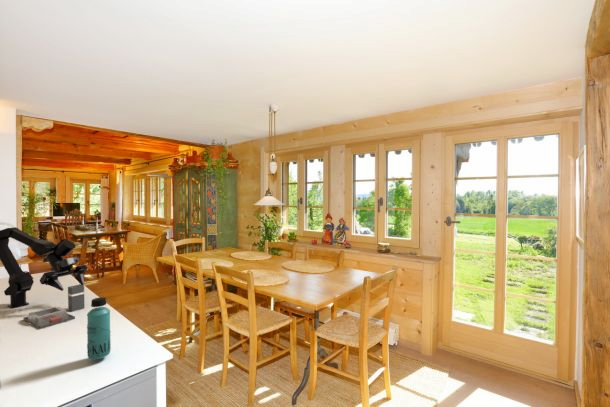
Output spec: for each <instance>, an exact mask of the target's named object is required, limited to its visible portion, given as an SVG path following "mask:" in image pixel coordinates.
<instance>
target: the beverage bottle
mask: <svg viewBox="0 0 610 407" xmlns="http://www.w3.org/2000/svg"><path fill="white" fill-rule="evenodd" d="M106 305H107V299H106V297H104V296H100V297H96V298H92V299H91V304H90V306H91V307H92V309H91V310H89V312H87V314H86V316H87V325H86V333H87V337H86V338H87V343H86V344H87V345H86V349H87V350H86V351H87V352H86V353H87V358H88V360H100V359H102V358H103V359H104V358H105V357H106V356H108V355H109V354H110V353H111V349H112V347H111V336H112V335H111V309H109V308H108V307H106Z"/></svg>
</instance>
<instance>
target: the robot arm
mask: <svg viewBox="0 0 610 407" xmlns="http://www.w3.org/2000/svg"><path fill="white" fill-rule="evenodd" d="M10 238H11V239H14V240H15V241H17V242H19V243H20V244H21V243H22V244H23V245H25V246H28V247H29V248H30V250H31V252H33V253H35V254H36V255H37V256H44V255H46V256H44V258H43V260H42V263H48V264H49V265H50V267H51V268H50V271H46V272H44V273H43V274H42V275H41V277H40V279H39V283H40V284H41V286H42V285H45V286H50V287H53V288H56V289H57V290H59V291H61V292H62V291H64V286H63V284H61V281H59V279H58V278H60V277H66V276H70V275H71V276H72V275H73V276H74V279H75V280H76V281H77V282H78V283H79V284H81V285H84V286H85V281H84V280H85V279H84V274H85V273H86V271H87V270H88V268H89V267H88V266H87V265H86V264H82V265H80V264H79V265H77V263H79V261H80V259H79V257H78V256H77V255H75V256H71V257H68V258H64V257H67V256H68V255H69V254H70V253H71V252H72V251H73V250H74V249H76V244H75V243H74V242H72V241H70V240H69V239H66V238H62V239H61V240H60V241H59V242H58V243H57V244H56V243H54V242H53V241H49V240H46V239H45V240H44V239H40V238H37V237H36V236H33V235H31V234H29V233H27V232H26V231H23V230H21V229H19V227H16V226H15V227H6V228H4V229H0V261H1V263H2V265H3V267H4V269H5V271H6V273H7V274H8V281H7V282H8V287H7V288H6V289H5V290H4V291H3V293H4V295H5V296H10V298H9V300H10V302H9V303H10V304H7V307H9V308H11V309H14V308H19V307H23V306H28V305H30V302H27V292H29V291H31V289H32V287H33V284H34V277H33V276H32V274H31V272H30V271H26V272H25V271H23V270H22V267H21V265H19V263H18V261H17V260H16V258H15V256H14V253H13V252H12V250H11V249H10V246H9V243H10ZM75 265H77V266H75ZM74 266H75V268H74V269H73V267H74Z"/></svg>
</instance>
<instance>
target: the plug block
mask: <svg viewBox="0 0 610 407" xmlns="http://www.w3.org/2000/svg"><path fill="white" fill-rule="evenodd" d="M67 304H68V305H67V306H68V307H67V309H68V311H70V312H71V313H72V312H76V311H80V310H84V309H85V284H84V285H81V284H80V283H79V284H75V285H71V286H68V287H67Z"/></svg>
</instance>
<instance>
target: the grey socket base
mask: <svg viewBox="0 0 610 407" xmlns="http://www.w3.org/2000/svg"><path fill="white" fill-rule="evenodd" d="M66 312H67V310H66V308H63V307H62V306H51V307H47V308H44V309H43V308H42V309H40V310H39V309H38V310H36V311H31V312H28V314H27V316H24V317H23V318H22V319H23V320H22V321H25V322H26V323H28V324H29V325H32V326H34V327H36V328H38V329H40V330H42V329H46V328H49V327H52V326H56V325H60V324H62V323H65V322H69V321H73V320H75V319H76V316H74V315H73V314H72V315H71V314H70V313H66Z"/></svg>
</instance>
